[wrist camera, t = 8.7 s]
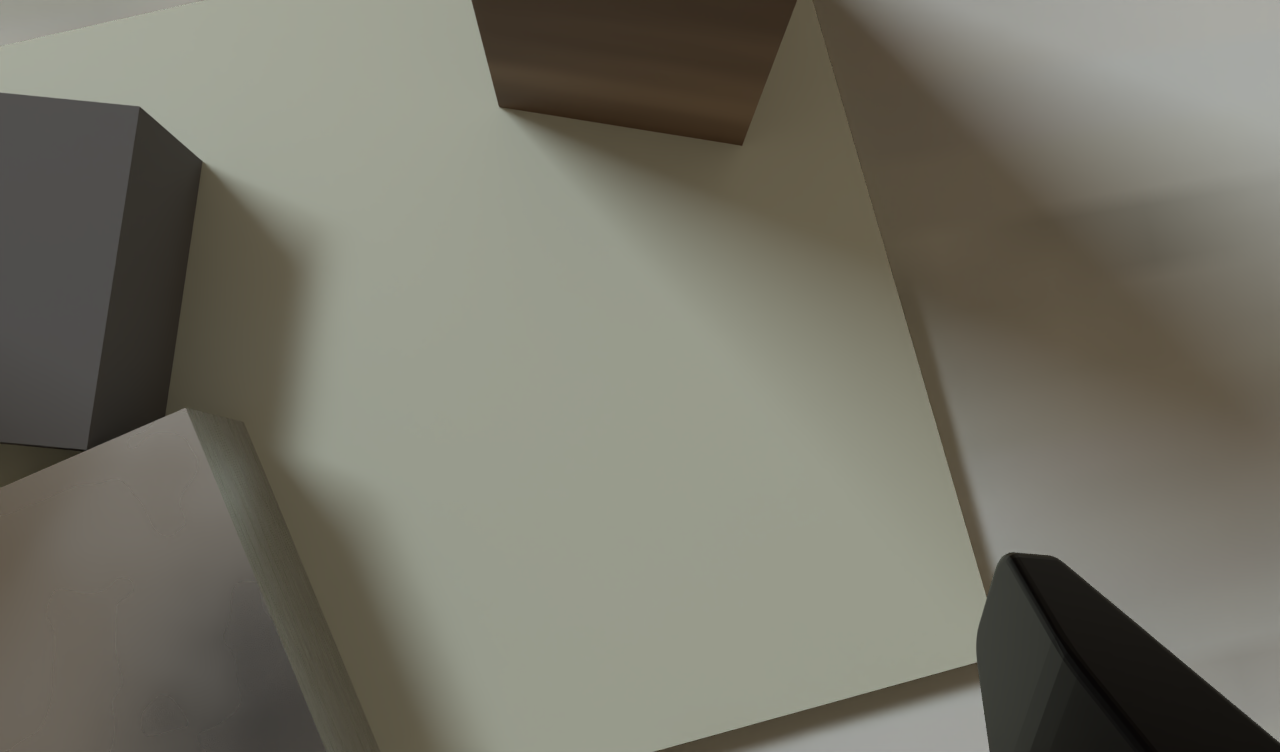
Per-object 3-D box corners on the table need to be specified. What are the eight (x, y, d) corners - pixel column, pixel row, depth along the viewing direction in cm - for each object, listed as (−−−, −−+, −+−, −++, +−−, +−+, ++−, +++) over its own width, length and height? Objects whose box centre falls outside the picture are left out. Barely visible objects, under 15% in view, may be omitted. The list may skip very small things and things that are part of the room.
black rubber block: (158, 458, 18) (86, 449, 15) (-91, 435, 18) (-205, 422, 15) (202, 160, 18) (139, 105, 16) (-38, 137, 18) (-140, 78, 16)
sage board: (990, 650, 18) (1003, 655, 18) (36, 913, 17) (15, 928, 17) (770, -110, 20) (775, -129, 19) (-118, 91, 19) (-141, 77, 18)
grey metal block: (386, 768, 17) (351, 811, 15) (146, 880, 17) (68, 944, 14) (244, 421, 18) (185, 407, 15) (9, 524, 17) (-89, 526, 15)
